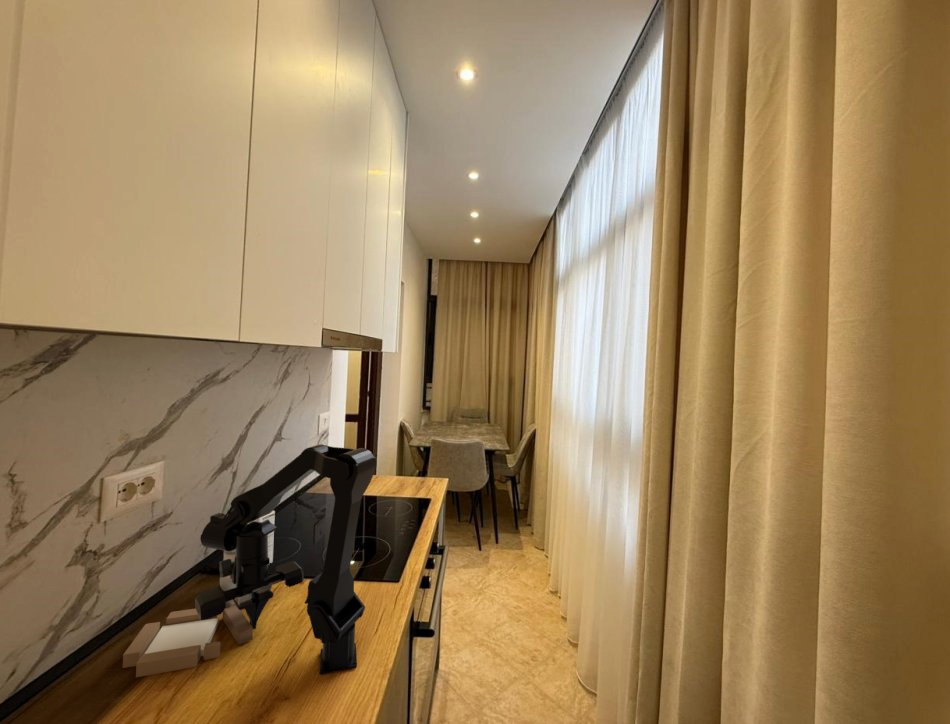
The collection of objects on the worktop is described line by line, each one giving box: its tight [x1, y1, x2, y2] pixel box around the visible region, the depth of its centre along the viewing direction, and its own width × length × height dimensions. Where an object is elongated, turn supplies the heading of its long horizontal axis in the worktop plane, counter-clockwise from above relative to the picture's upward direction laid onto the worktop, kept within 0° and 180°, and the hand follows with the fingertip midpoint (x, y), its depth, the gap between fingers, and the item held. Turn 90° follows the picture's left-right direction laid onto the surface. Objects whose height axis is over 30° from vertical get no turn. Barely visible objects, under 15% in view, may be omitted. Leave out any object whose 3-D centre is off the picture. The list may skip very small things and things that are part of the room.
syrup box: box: [252, 510, 276, 566], centre depth 110 cm, size 6×6×14 cm
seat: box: [122, 608, 221, 678], centre depth 79 cm, size 15×15×2 cm
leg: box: [222, 600, 254, 646], centre depth 84 cm, size 12×2×3 cm, turn 46°
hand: (252, 628), depth 83 cm, fingers closed
